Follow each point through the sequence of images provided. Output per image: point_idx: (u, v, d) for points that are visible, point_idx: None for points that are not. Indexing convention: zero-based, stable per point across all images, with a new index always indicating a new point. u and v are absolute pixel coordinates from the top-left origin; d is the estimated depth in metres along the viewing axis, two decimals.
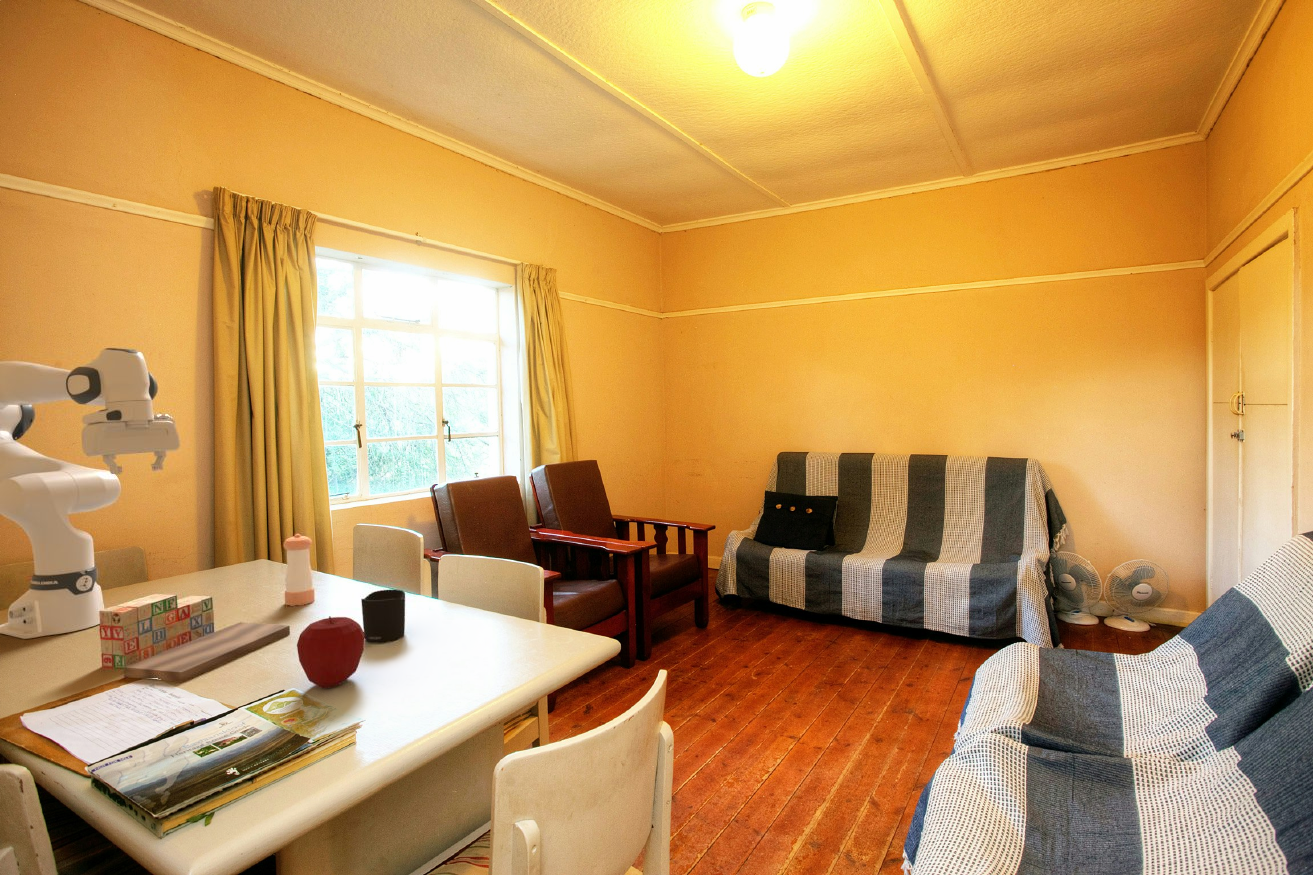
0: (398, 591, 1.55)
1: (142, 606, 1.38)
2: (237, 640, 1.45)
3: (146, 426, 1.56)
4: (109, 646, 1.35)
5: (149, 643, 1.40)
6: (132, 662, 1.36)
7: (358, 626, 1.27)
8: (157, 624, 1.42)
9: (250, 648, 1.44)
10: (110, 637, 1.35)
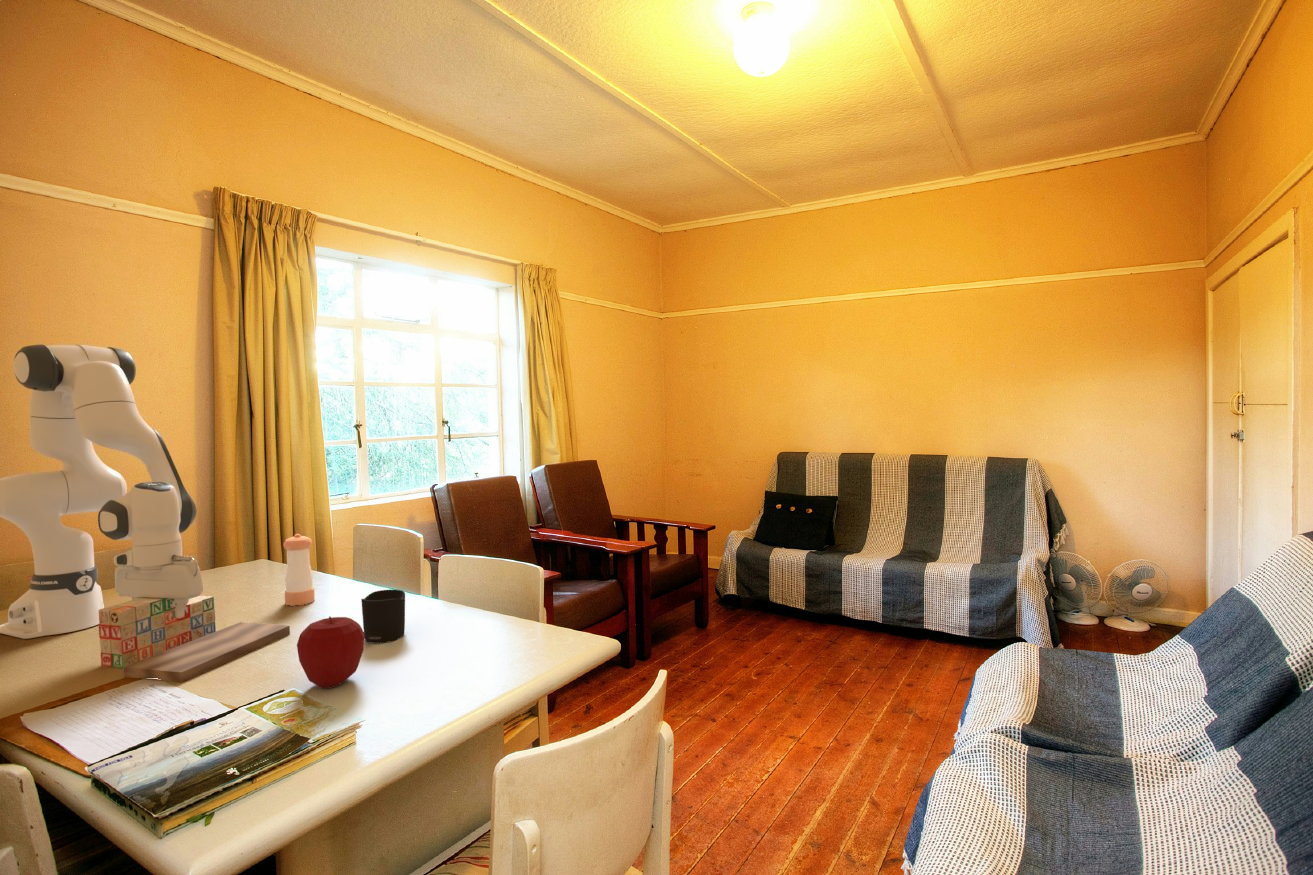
0: (398, 591, 1.55)
1: (140, 606, 1.39)
2: (237, 640, 1.45)
3: (151, 572, 1.42)
4: (107, 645, 1.36)
5: (147, 643, 1.40)
6: (130, 661, 1.37)
7: (358, 626, 1.27)
8: (156, 623, 1.42)
9: (250, 648, 1.44)
10: (109, 636, 1.36)
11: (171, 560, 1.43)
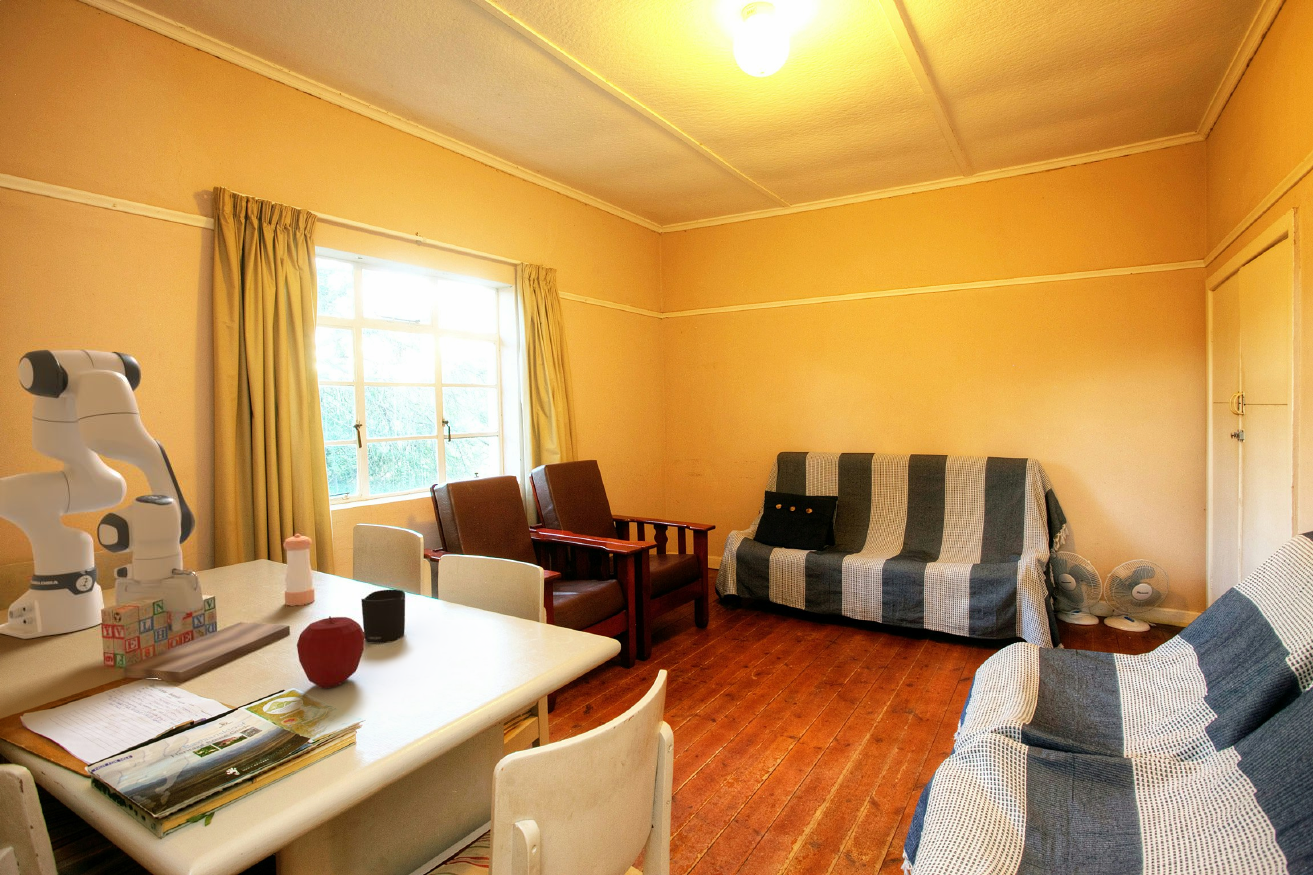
0: (398, 591, 1.55)
1: (143, 605, 1.39)
2: (237, 640, 1.45)
3: (151, 585, 1.42)
4: (110, 644, 1.36)
5: (150, 642, 1.40)
6: (133, 661, 1.37)
7: (358, 626, 1.27)
8: (159, 623, 1.42)
9: (250, 648, 1.44)
10: (111, 635, 1.36)
11: (171, 573, 1.44)
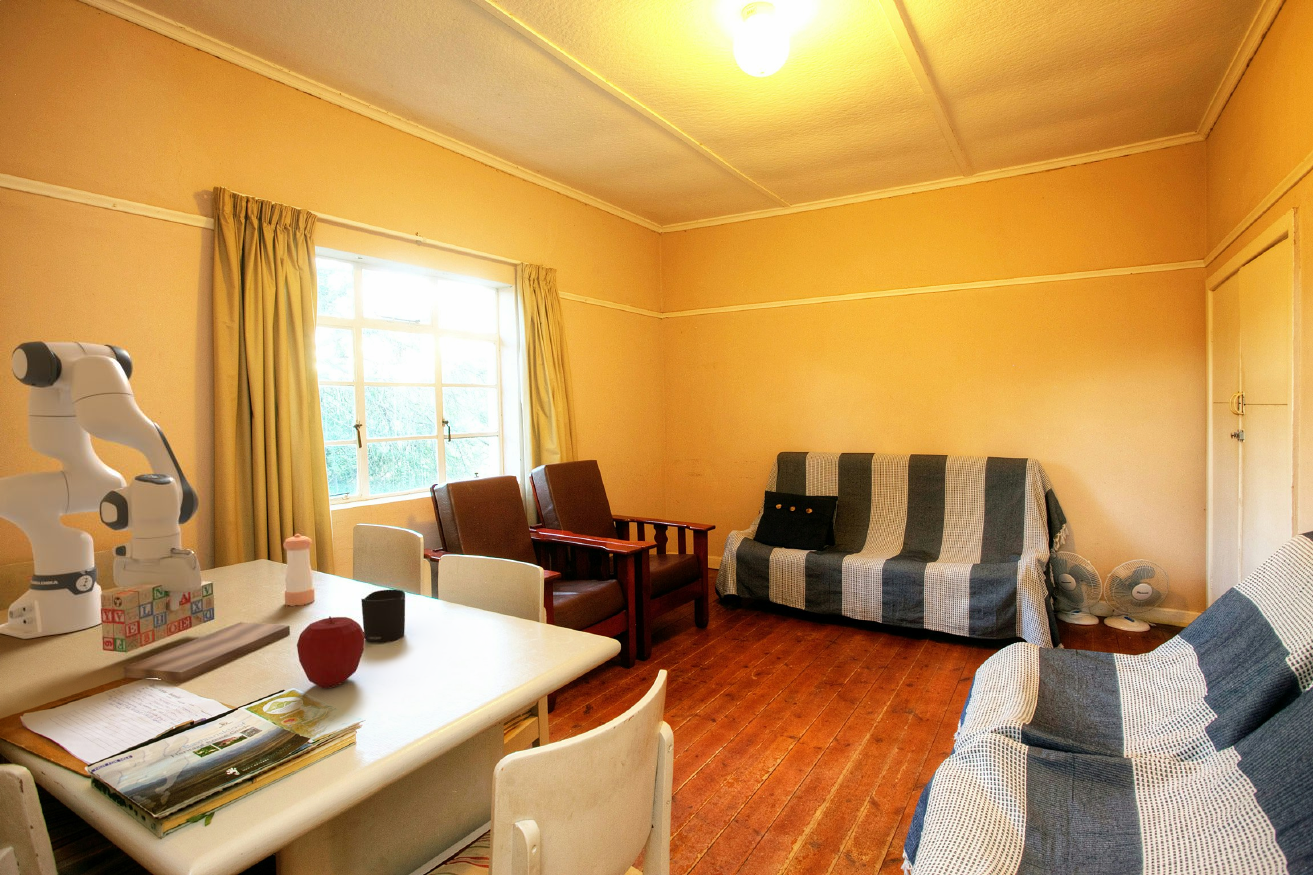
0: (398, 591, 1.55)
1: (143, 590, 1.39)
2: (237, 640, 1.45)
3: (150, 564, 1.42)
4: (110, 629, 1.36)
5: (149, 627, 1.40)
6: (133, 645, 1.37)
7: (358, 626, 1.27)
8: (158, 608, 1.42)
9: (250, 648, 1.44)
10: (111, 620, 1.36)
11: (170, 553, 1.43)
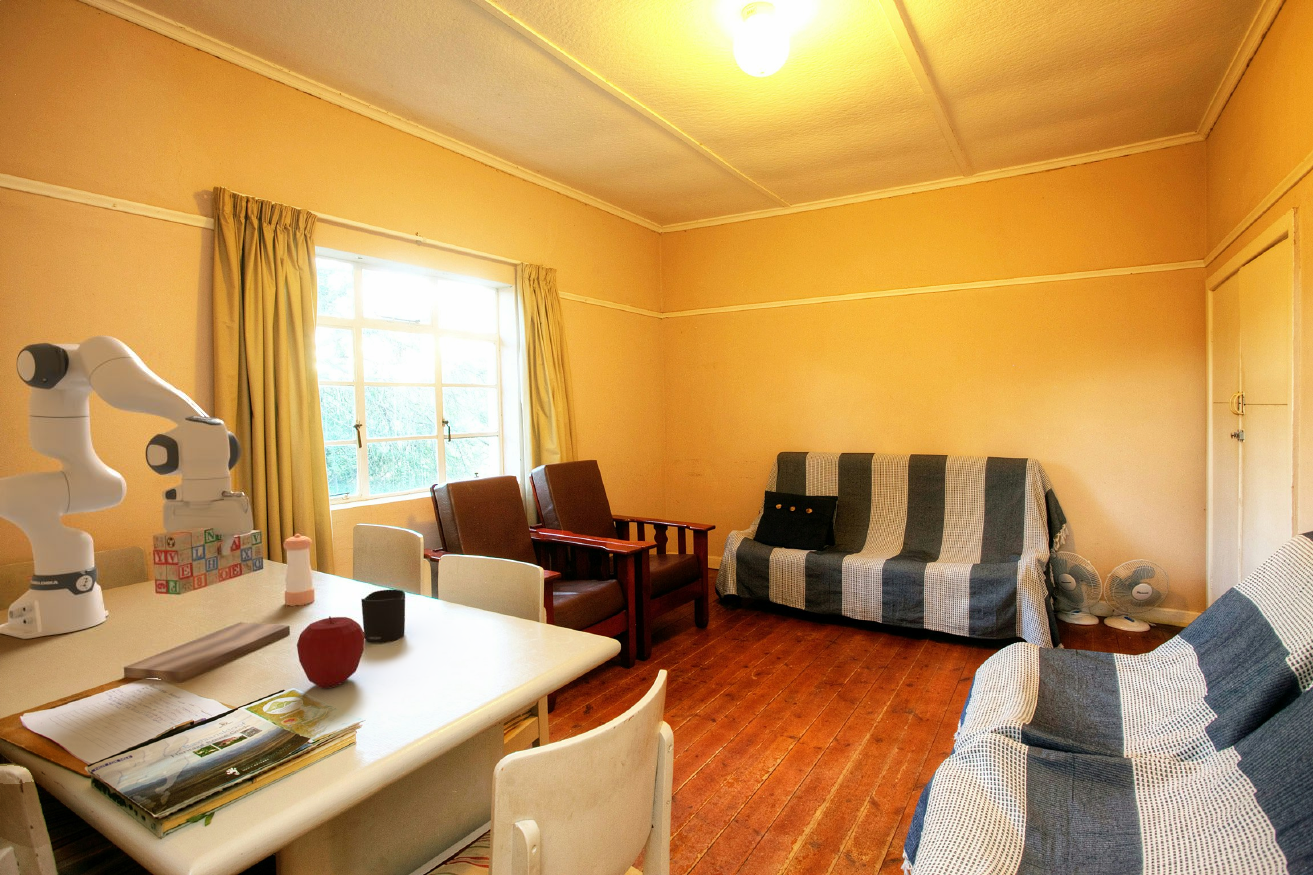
0: (398, 591, 1.55)
1: (196, 532, 1.35)
2: (237, 640, 1.45)
3: (201, 507, 1.38)
4: (163, 571, 1.32)
5: (202, 571, 1.37)
6: (186, 588, 1.33)
7: (358, 626, 1.27)
8: (210, 552, 1.39)
9: (250, 648, 1.44)
10: (164, 562, 1.32)
11: (221, 496, 1.40)
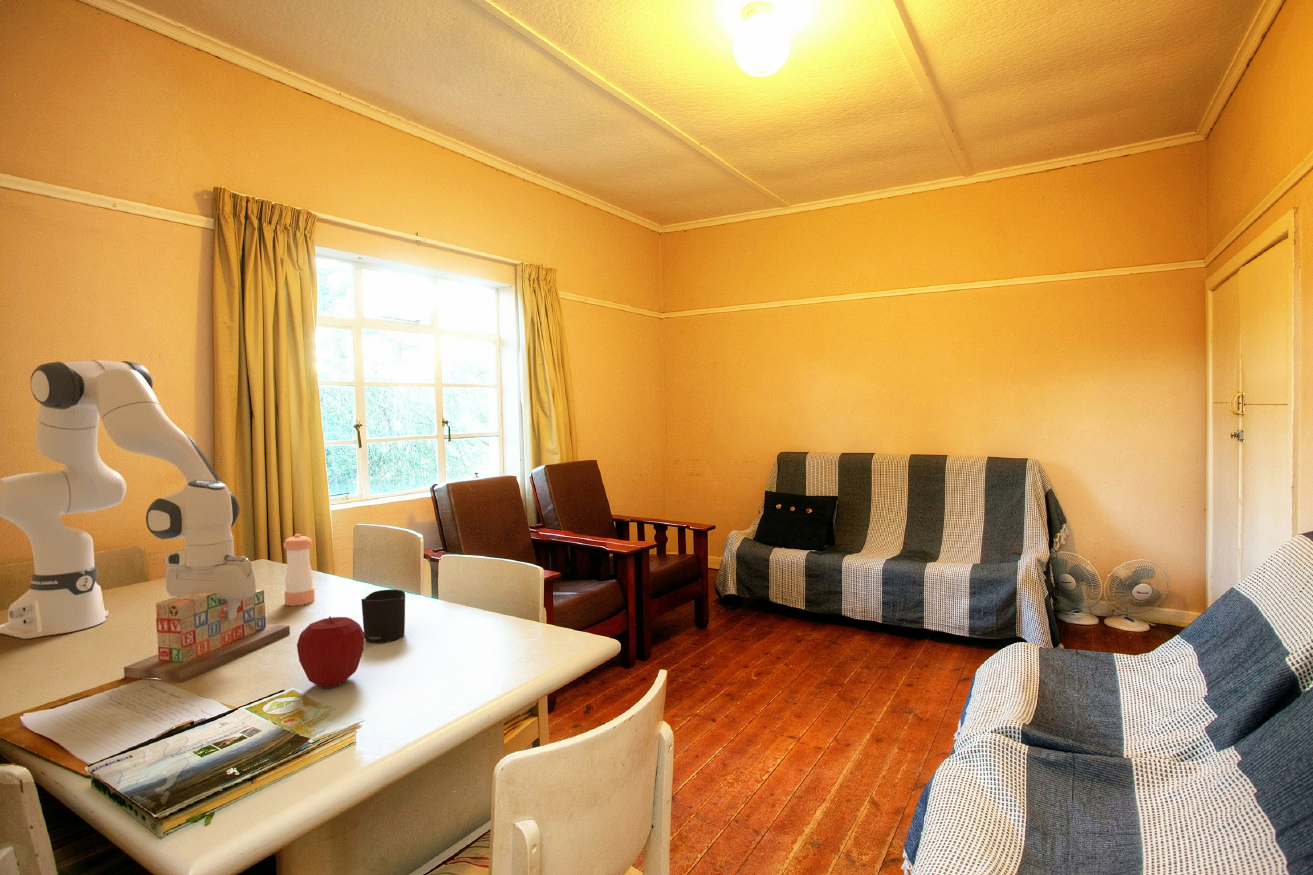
0: (398, 591, 1.55)
1: (198, 599, 1.36)
2: (237, 640, 1.45)
3: (204, 572, 1.39)
4: (166, 639, 1.33)
5: (205, 637, 1.37)
6: (189, 655, 1.34)
7: (358, 626, 1.27)
8: (213, 617, 1.39)
9: (250, 648, 1.44)
10: (167, 630, 1.33)
11: (224, 560, 1.40)
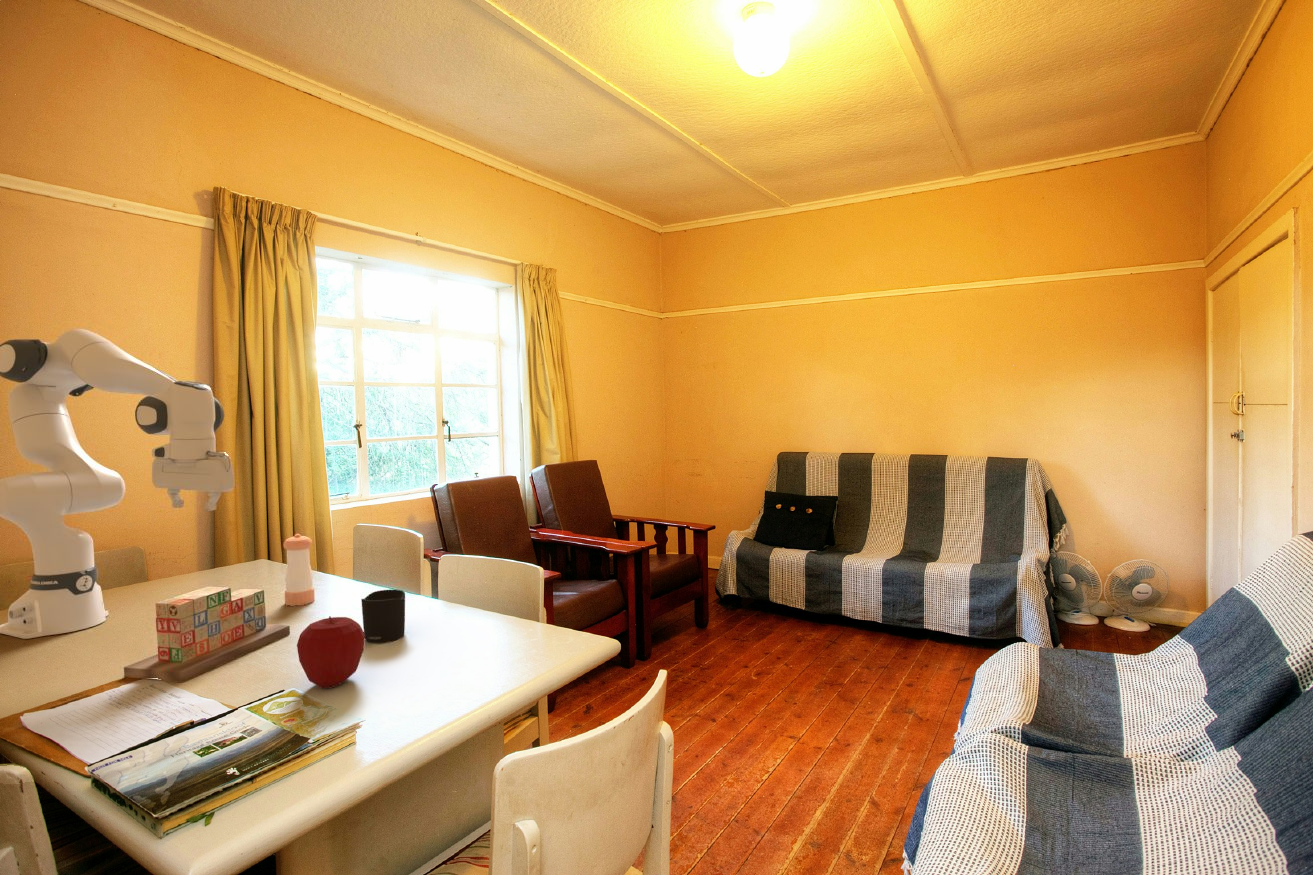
0: (398, 591, 1.55)
1: (198, 598, 1.36)
2: (237, 640, 1.45)
3: (187, 465, 1.50)
4: (165, 639, 1.33)
5: (204, 636, 1.37)
6: (188, 655, 1.34)
7: (358, 626, 1.27)
8: (212, 616, 1.39)
9: (250, 648, 1.44)
10: (166, 629, 1.33)
11: (206, 455, 1.52)
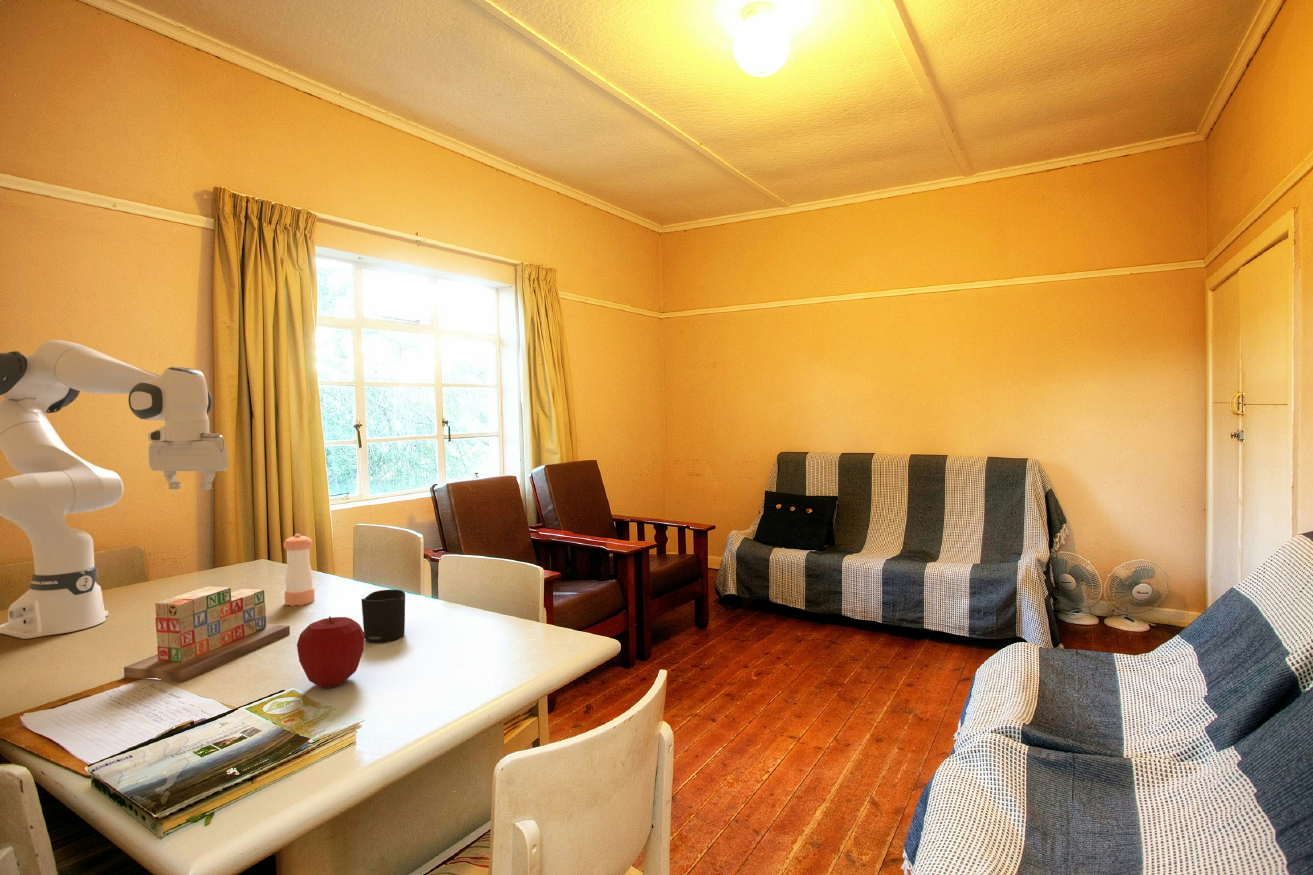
0: (398, 591, 1.55)
1: (198, 598, 1.36)
2: (237, 640, 1.45)
3: (182, 446, 1.57)
4: (165, 638, 1.33)
5: (204, 636, 1.37)
6: (188, 655, 1.34)
7: (358, 626, 1.27)
8: (212, 616, 1.39)
9: (250, 648, 1.44)
10: (166, 629, 1.33)
11: (200, 437, 1.58)
